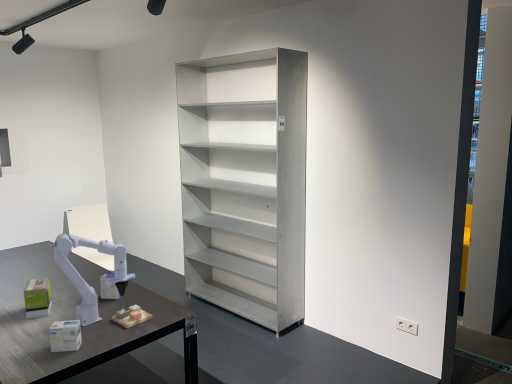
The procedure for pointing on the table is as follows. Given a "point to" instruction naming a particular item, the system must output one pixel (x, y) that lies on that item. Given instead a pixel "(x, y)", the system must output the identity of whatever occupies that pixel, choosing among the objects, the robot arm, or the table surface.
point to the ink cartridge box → (108, 287)
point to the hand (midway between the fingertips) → (121, 295)
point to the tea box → (37, 298)
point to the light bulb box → (65, 336)
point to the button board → (128, 321)
